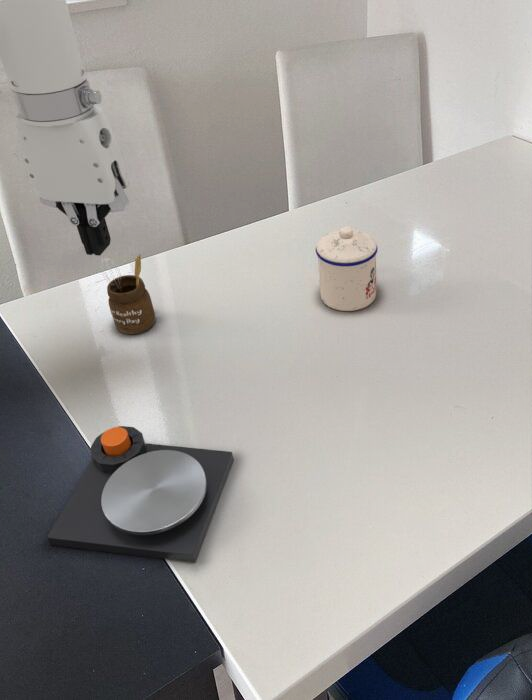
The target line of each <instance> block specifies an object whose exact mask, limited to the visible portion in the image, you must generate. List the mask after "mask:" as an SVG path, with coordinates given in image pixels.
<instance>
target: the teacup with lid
mask: <svg viewBox="0 0 532 700" xmlns="http://www.w3.org/2000/svg"><path fill="white" fill-rule="evenodd" d="M315 254H316V256H317V264H318V275H319V276H318V277H319V293H320V294H319V295H320V297H321V298H320V299H321V300H322V302H323V303H324V304H325V305H326V306H328V307H329V308H330V309H333V310H337V311H342V312H352V311H358V310H362V309H364V308H367V307H368V306H369V305H371V304H372V303H373V302H374V301H375V299H376V296H377V254H378V244H377V241H376V240H375V238H374V237H372V236H371V235H370V234H368V233H367V232H364V231H361V230H357V229H353V228H352V227H350V226H343V227H341V228H340V229H339V230H334V231H331V232H329V233H327V234H325V235H323V236H322V237H321V238H320V239H319V240H318V242H317V244H316V247H315Z"/></svg>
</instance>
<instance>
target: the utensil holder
mask: <svg viewBox="0 0 532 700" xmlns="http://www.w3.org/2000/svg"><path fill="white" fill-rule="evenodd" d="M107 260H108V261H110V263H111V264H112V266H113V267H114V270H115V273H116V274H117V275H116V276H117V277H115V274H114V272H113V270H112V268H111V266H110V265H109V262H108V261H107ZM113 261H114V259H113V258H111V257H105V258H102V259H101V260H100V262H99V266H100V268H99V269H100V272H101V274H102V276H103V277H104V279H105V280H107V279H108V280H109V282H108V284H107V287H106V292H107V296H108V307H109V312H110V315H111V317H112V321H113V323H114V325H115V327H116V329H117V330H118V331H119V332H121V333H122V334H126V335H137V334H141V333H143V332H145V331H146V332H147V331H148V330H149V329H150V328H152V327H153V325H154V324H155V321H156V313H155V309H154V304H153V301H152V297H151V294H150V293H149V291H148V290H147V288H146V285H145V283H144V280H143V278H141V277H140V274H141V272H142V254H141V253H138V255H137V256H136V258H135V259H134V275H133V274H127V275H121V273H118V272H121V270H120V269H119V266H118V264H117V262H116V261H114V262H113ZM101 263H105V265H106V268H107V270H108V271H110V270H111V271H110V272H111V273H110V276H111V277H112V280H110V278H109V277H108V274H107V272H106V270H105V267H104V266H101V265H102V264H101ZM117 270H118V271H117ZM102 271H103V272H102ZM118 274H119V276H118ZM113 276H114V277H113Z"/></svg>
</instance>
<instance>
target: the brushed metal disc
mask: <svg viewBox="0 0 532 700" xmlns="http://www.w3.org/2000/svg"><path fill="white" fill-rule="evenodd" d="M206 487H207V481H206V476H205V472H204V470H203V468H202V466H201V465H200V463H199V462H198V461H197V460H195V459H194V458H193V457H191V456H190V455H188V454H185V453H182V452H179V451H173V450H159V451H153V452H148V453H145V454H142V455H139V456H137V457H135V458H133V459H131V460H129V461H128V462H126V463H125V464H123V465H122V466H121V467H119V468H118V469H117V470H116V471H115V472H114V473H113V474H112V476H111V477H110V478H109V480H108V481H107V483H106V485H105V487H104V489H103V493H102V498H101V505H102V509H103V512H104V514H105V517H106V518H107V520H108V521H109V522H110V523H111V524H112V525H113V526H114V527H115V528H117V529H118V530H121V531H123V532H125V533H129V534H134V535H151V534H157V533H161V532H164V531H167V530H169V529H172V528H174V527H176V526H178V525H179V524H181V523H182V522H184V521H185V520H187V519H188V518H189V517H190V516H191V515H192V514H193V513H194V512H195V511H196V510H197V509H198V507H199V506H200V504H201V503H202V501H203V498H204V496H205V493H206Z"/></svg>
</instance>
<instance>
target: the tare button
mask: <svg viewBox="0 0 532 700" xmlns="http://www.w3.org/2000/svg"><path fill="white" fill-rule="evenodd" d="M108 429H109V430H108ZM108 429H107V431H106V430H105V431H103V432H102V433H103V435H102V436H101V443H102V445H103V448H104V451H105V453H106V454H107V455H109V456H118V455H122V454H124V453H125V452H127V451H128V450H129V449H130V447H131V441H130V438H129V436H128V433H127V431H126V430H125V429H124V428H121V427H119V426H115V427H111V428H108Z"/></svg>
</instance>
